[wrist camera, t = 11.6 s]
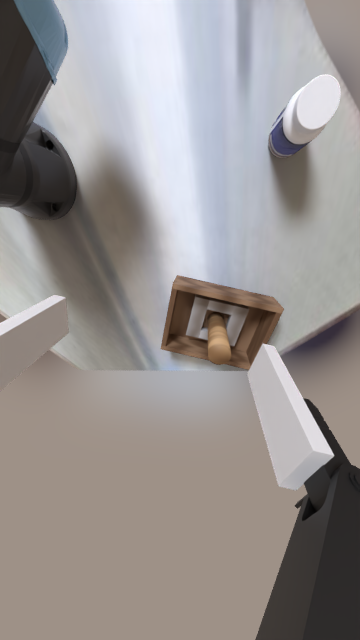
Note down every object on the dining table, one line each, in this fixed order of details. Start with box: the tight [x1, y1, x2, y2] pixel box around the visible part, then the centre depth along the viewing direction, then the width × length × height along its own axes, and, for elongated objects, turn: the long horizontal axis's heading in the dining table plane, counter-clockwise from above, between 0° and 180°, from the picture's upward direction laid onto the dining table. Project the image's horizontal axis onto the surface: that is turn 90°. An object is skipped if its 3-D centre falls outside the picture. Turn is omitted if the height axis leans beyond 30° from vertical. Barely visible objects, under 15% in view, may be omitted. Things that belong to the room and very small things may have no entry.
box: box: [161, 275, 284, 370], centre depth 44 cm, size 22×16×6 cm
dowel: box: [207, 312, 231, 365], centre depth 40 cm, size 4×4×14 cm
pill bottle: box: [269, 75, 341, 158], centre depth 27 cm, size 6×6×10 cm
